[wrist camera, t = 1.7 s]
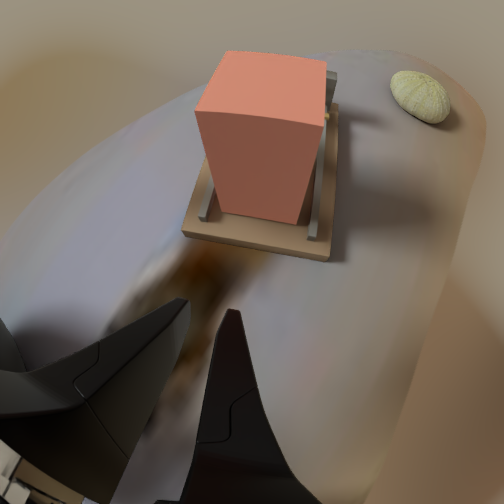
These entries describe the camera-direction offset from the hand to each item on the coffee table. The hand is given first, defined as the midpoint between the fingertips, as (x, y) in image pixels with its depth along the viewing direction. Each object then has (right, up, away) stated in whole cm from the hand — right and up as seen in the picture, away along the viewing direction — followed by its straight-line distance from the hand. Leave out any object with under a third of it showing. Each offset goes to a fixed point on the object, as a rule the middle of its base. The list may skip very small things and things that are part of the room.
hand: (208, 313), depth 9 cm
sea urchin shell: (+24, +23, +20) cm, 39 cm away
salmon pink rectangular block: (+3, +7, +14) cm, 16 cm away
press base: (+3, +11, +17) cm, 20 cm away
